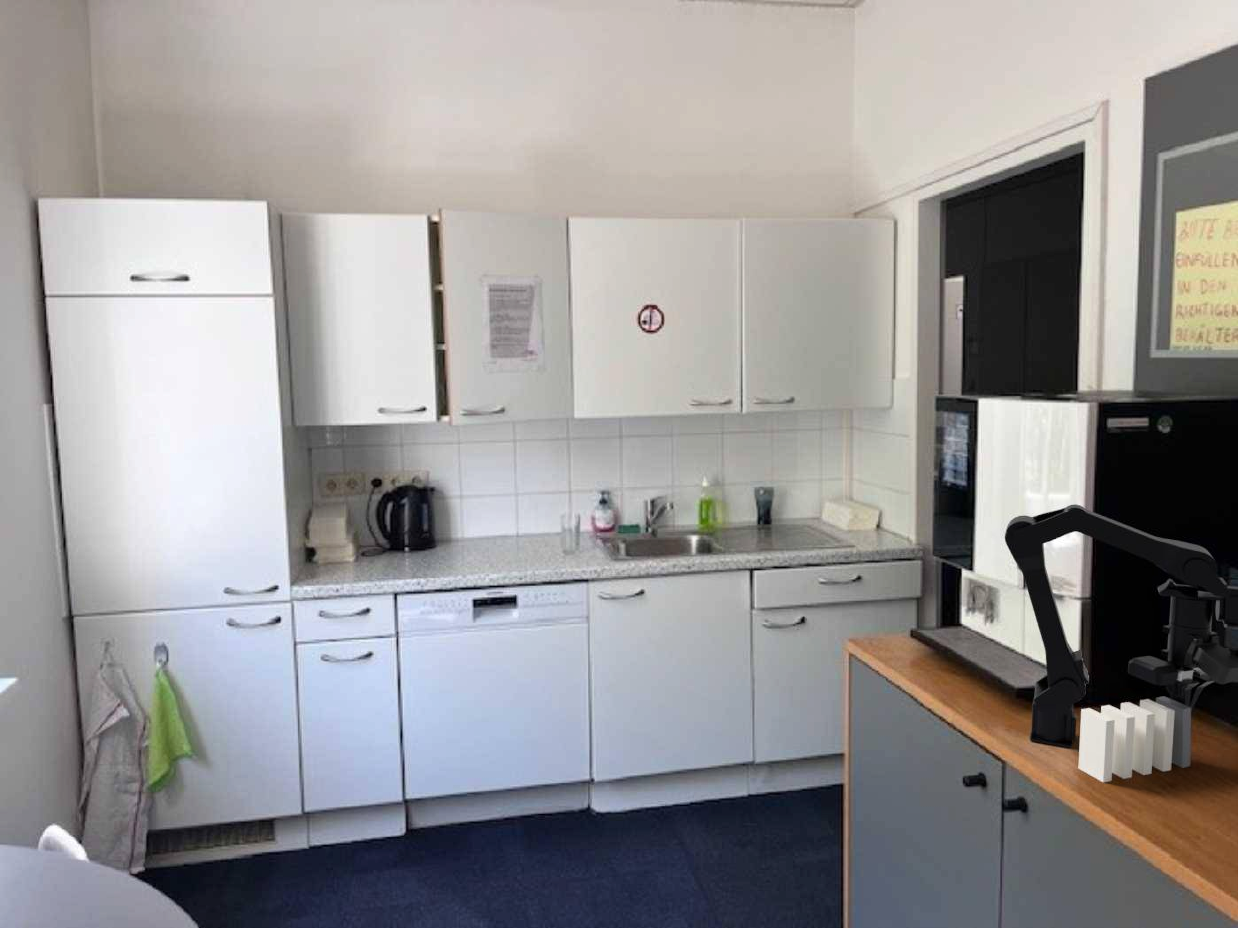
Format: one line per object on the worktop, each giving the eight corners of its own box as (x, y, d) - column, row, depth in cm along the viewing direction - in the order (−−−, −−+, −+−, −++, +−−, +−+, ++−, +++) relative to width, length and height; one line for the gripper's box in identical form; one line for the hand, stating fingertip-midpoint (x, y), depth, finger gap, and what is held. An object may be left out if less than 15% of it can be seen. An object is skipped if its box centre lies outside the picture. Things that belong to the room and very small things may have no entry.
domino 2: (1123, 778, 139) (1126, 718, 137) (1098, 764, 143) (1101, 706, 142) (1131, 777, 139) (1135, 716, 138) (1106, 763, 144) (1109, 704, 143)
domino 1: (1103, 782, 137) (1106, 721, 136) (1078, 768, 142) (1081, 709, 141) (1111, 780, 138) (1114, 719, 137) (1086, 766, 143) (1089, 707, 141)
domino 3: (1143, 774, 140) (1147, 714, 138) (1117, 761, 144) (1120, 703, 143) (1151, 773, 140) (1155, 713, 139) (1125, 760, 145) (1128, 701, 144)
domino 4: (1163, 771, 141) (1166, 711, 140) (1136, 758, 145) (1140, 700, 144) (1170, 769, 141) (1174, 710, 140) (1144, 756, 146) (1147, 698, 145)
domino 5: (1182, 767, 142) (1183, 709, 140) (1155, 754, 147) (1156, 697, 145) (1190, 765, 142) (1190, 707, 141) (1163, 752, 147) (1163, 696, 146)
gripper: (1190, 644, 132) (1183, 743, 134) (1283, 632, 137) (1275, 727, 139) (1128, 623, 143) (1122, 715, 144) (1216, 612, 148) (1210, 701, 150)
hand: (1183, 715), depth 144 cm, fingers closed
